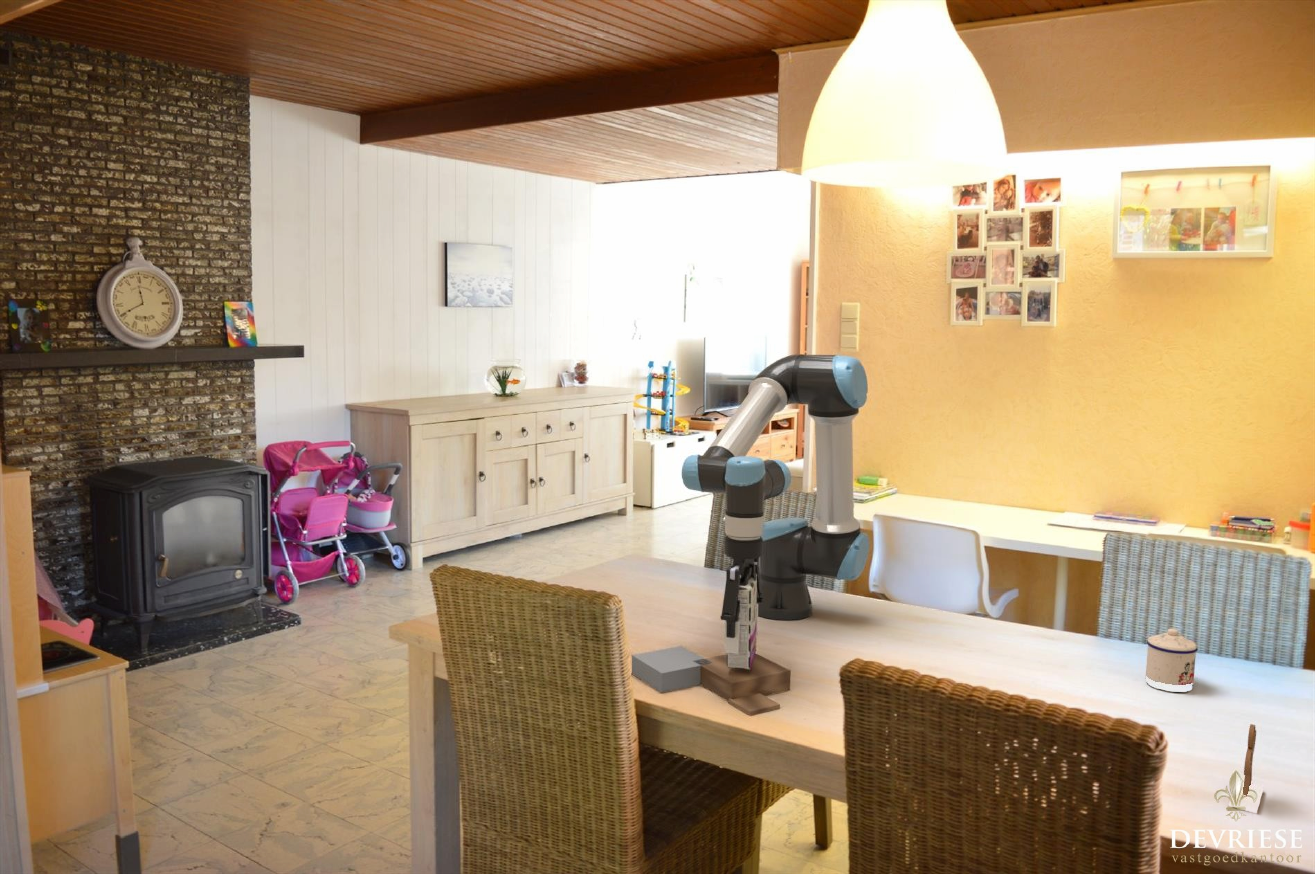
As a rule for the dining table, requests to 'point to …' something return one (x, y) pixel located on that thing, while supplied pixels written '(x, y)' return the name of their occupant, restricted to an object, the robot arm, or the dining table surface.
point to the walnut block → (743, 677)
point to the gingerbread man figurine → (1249, 759)
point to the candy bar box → (746, 627)
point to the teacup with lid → (1171, 658)
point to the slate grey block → (668, 668)
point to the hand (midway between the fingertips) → (741, 643)
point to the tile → (754, 704)
